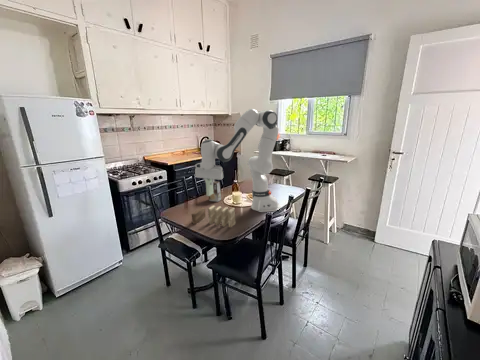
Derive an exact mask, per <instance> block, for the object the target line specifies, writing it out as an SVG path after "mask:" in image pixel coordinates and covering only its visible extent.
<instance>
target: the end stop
mask: <svg viewBox="0 0 480 360" xmlns="http://www.w3.org/2000/svg"><path fill="white" fill-rule="evenodd" d="M204 219H206V208H205V207H199V208H198V209H197V210H195V211H193V212H192V213H191V223H192V224H193V225H197V224H198V223H200V222H201V221H203V220H204Z"/></svg>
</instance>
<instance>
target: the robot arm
mask: <svg viewBox="0 0 480 360" xmlns="http://www.w3.org/2000/svg"><path fill="white" fill-rule="evenodd" d="M277 125H278V114H277V112H275V111H274V110H271V109H269V110H268V109H267V110H261V111H257V110H256V109H254V108H249V109H248V110H246V111H245V112H244V113H243V114H241V116H239V117H238V119H237V120H236V122H235V124H234V125H233V128H234V134H233V136H232V137H231V138H230V140H229V141H228V143H226V144H222V143H221V144H220V143H218V142H216V141H214V140H213V139H207V140H204V141H202V142H201V144H200V154H201V161H200V162H198V163H196V164H194V165H195V166H194V167H195V169H194V176H195V178H198V179H203V180H204V182H205V183H206V180H207V179H211V180H212V182H211V183H210V185H213V182H214V181H216V180H219V181H221V180H223V178H224V171H223V170H224V169H223V167H222V166H221V165H216V159H218V161H220V162H222V163H227V162H229V161H231V160H232V158H233V156H234V153H235V151H236V149H238V147H239V146H240V144H241V143H242V142H243V140H244V139H245V137H246V136H247V135H248V134H249V132H251V130H252V129H253V128H254V127H255V126H257V127H262V128H263V129H262V135H261V137H260V139H259V144H258V146H257V150H258V155H254V156H251V157H249V159H248V160H247V165H248V168H249V171H250V175H251V178H252V190H251V191H252V192H251V193H252V195H251V196H252V201H251V202H252V203H251V207H250V208H251V209H252V210H253V211H257V212H259V213H266V212H276V211H277V210H279V209H280V208H281V209H282V205H281V204H280V203H279V202H278V200H277V197H275V196H274V195H272V191H271V190H270V189H268V188H269V187H268V183H269V182H268V178H267V176H266V175H269V174H270V173H271V172H273V169H274V164H273V151H274V148H275V146H276V142H277V139H278V135H279V127H278V126H277ZM281 209H280V210H281ZM280 210H279V211H280ZM277 212H278V211H277Z"/></svg>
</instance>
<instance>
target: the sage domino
mask: <svg viewBox="0 0 480 360" xmlns="http://www.w3.org/2000/svg"><path fill="white" fill-rule="evenodd" d="M211 182H212V180H211V179H207V180H206V182H205V188H206V189H205V190H206V197H209V196H210V195H212V194H214V192H213V185H210V183H211Z"/></svg>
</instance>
